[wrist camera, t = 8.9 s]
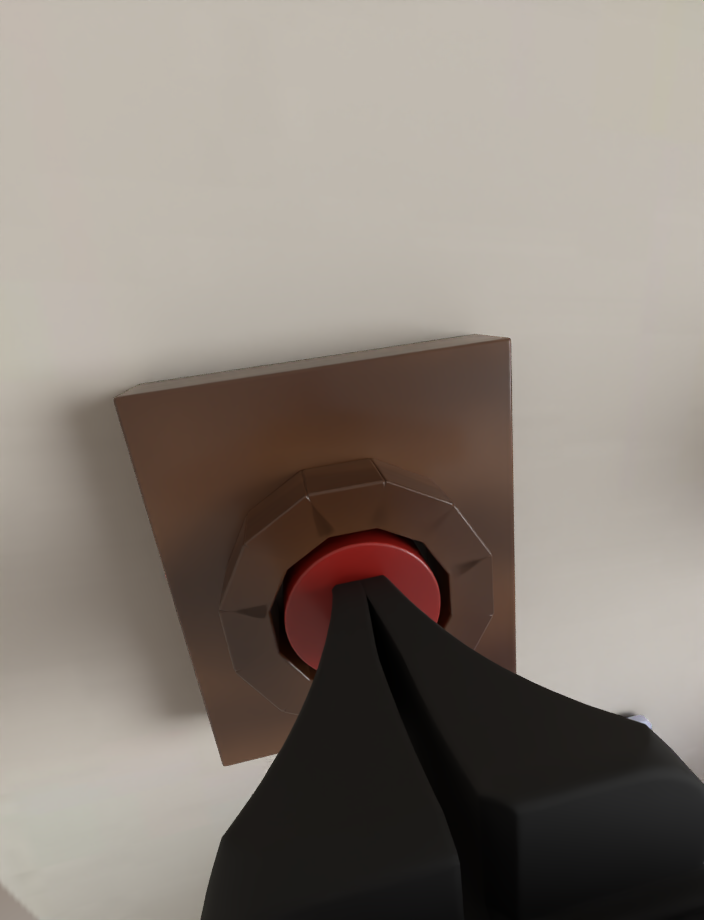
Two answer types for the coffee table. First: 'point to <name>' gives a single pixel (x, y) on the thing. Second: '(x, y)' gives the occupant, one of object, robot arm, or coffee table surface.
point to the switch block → (323, 503)
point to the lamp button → (346, 563)
